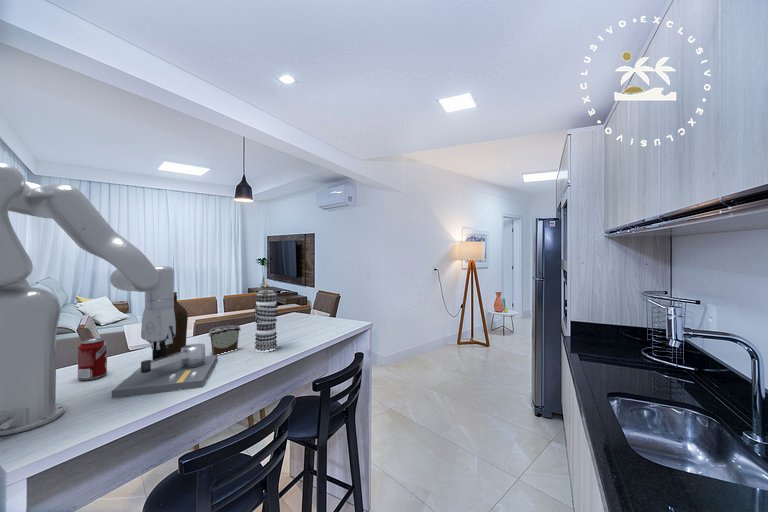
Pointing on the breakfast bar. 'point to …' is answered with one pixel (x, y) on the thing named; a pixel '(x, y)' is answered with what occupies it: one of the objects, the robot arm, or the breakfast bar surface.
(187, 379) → the grey flat square slab
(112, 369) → the breakfast bar surface
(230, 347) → the food container
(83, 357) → the soda can
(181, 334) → the olive oil
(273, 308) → the decorative candle
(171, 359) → the metal ladle
